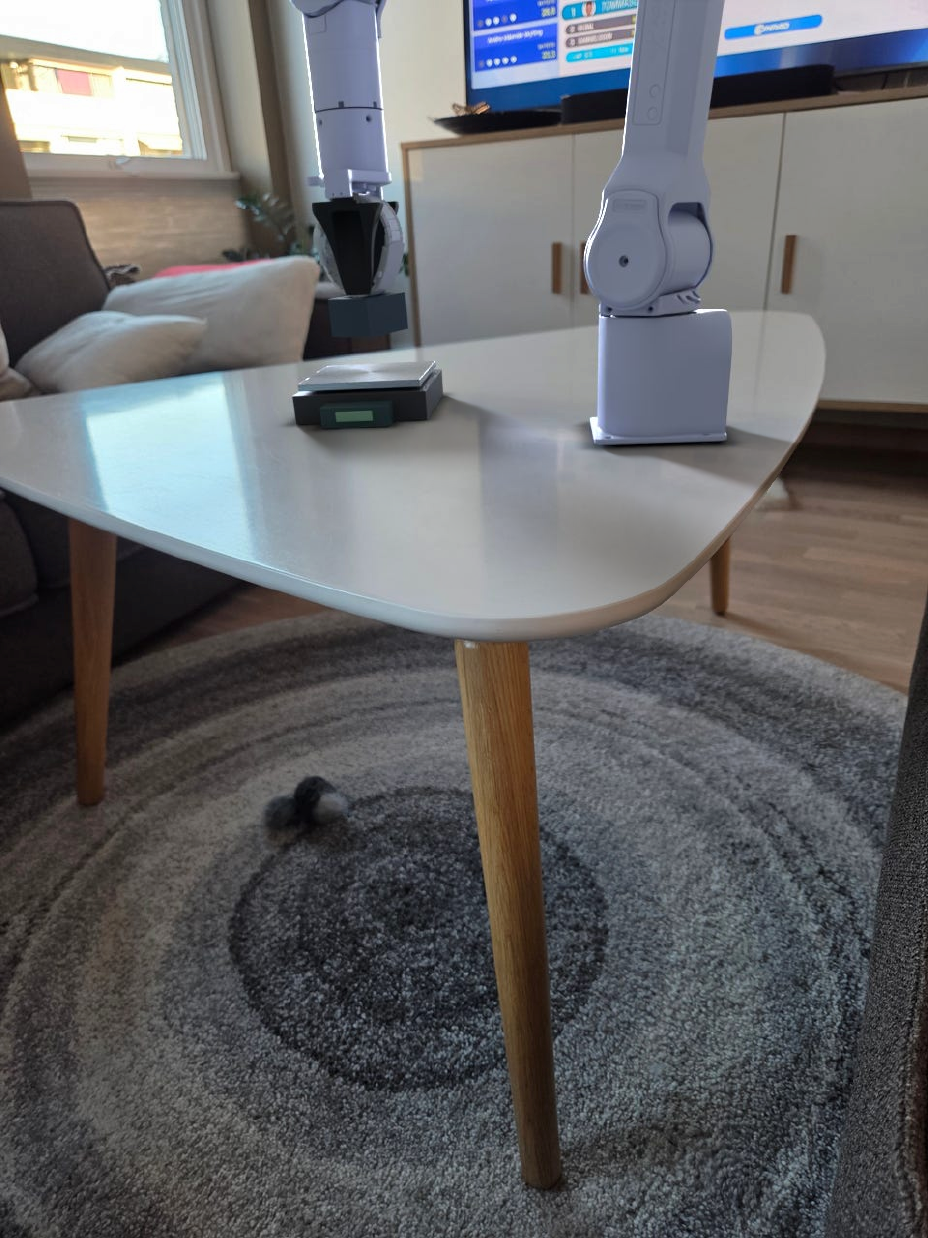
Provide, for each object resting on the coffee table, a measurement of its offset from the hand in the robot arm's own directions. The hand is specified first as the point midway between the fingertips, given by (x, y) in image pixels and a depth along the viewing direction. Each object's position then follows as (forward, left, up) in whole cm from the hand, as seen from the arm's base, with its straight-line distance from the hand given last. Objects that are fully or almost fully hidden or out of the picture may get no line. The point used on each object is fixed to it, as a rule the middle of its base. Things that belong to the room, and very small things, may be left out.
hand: (366, 291), depth 73 cm
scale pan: (+1, -1, -8) cm, 8 cm away
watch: (0, +1, -4) cm, 4 cm away
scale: (+1, 0, -10) cm, 11 cm away
